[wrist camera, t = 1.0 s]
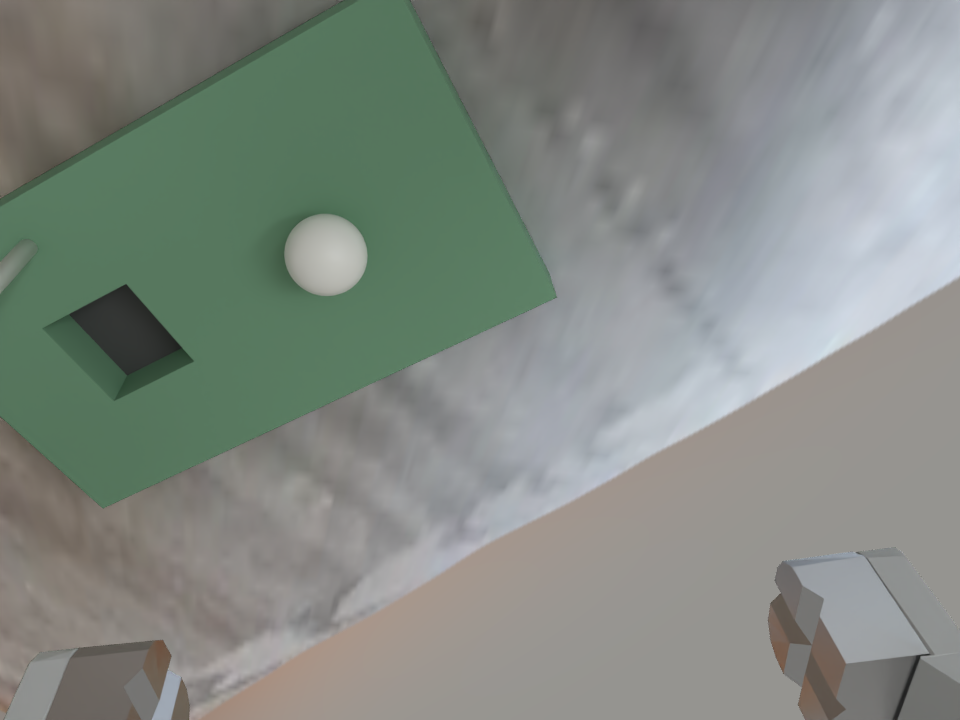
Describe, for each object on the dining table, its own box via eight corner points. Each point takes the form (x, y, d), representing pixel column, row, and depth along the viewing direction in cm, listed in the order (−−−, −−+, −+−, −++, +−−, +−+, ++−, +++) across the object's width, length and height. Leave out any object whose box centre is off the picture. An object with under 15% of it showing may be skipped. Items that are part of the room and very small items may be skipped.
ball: (342, 187, 35) (336, 220, 32) (383, 251, 37) (381, 288, 34) (274, 223, 36) (261, 258, 33) (318, 284, 38) (310, 323, 35)
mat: (394, -30, 33) (384, 71, 19) (549, 273, 41) (619, 495, 27) (-113, 263, 38) (-405, 506, 24) (116, 478, 46) (-6, 748, 33)
